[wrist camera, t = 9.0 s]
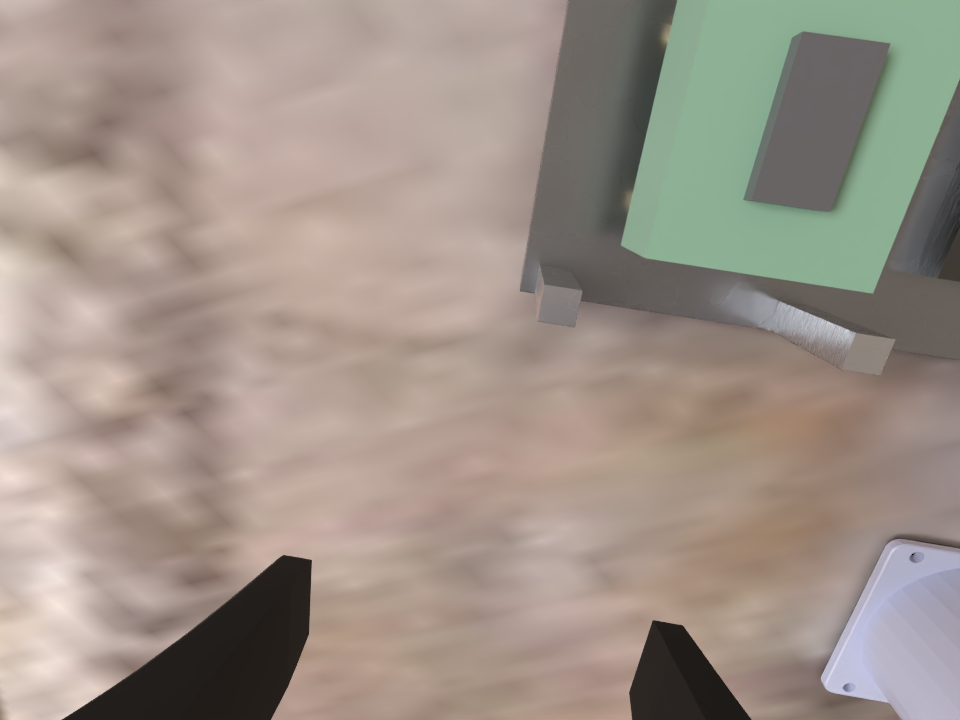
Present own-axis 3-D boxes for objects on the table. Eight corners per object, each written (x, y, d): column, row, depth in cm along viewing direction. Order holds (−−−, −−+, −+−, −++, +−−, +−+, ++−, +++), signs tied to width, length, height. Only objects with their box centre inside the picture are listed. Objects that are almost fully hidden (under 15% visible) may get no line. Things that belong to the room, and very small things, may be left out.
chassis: (1248, -47, 14) (1636, -175, 9) (1029, 365, 17) (1218, 429, 13) (590, -130, 14) (623, -292, 9) (520, 286, 18) (518, 318, 13)
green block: (925, -80, 11) (1087, -191, 8) (800, 273, 14) (885, 297, 11) (702, -110, 11) (772, -230, 8) (620, 245, 14) (649, 260, 11)
